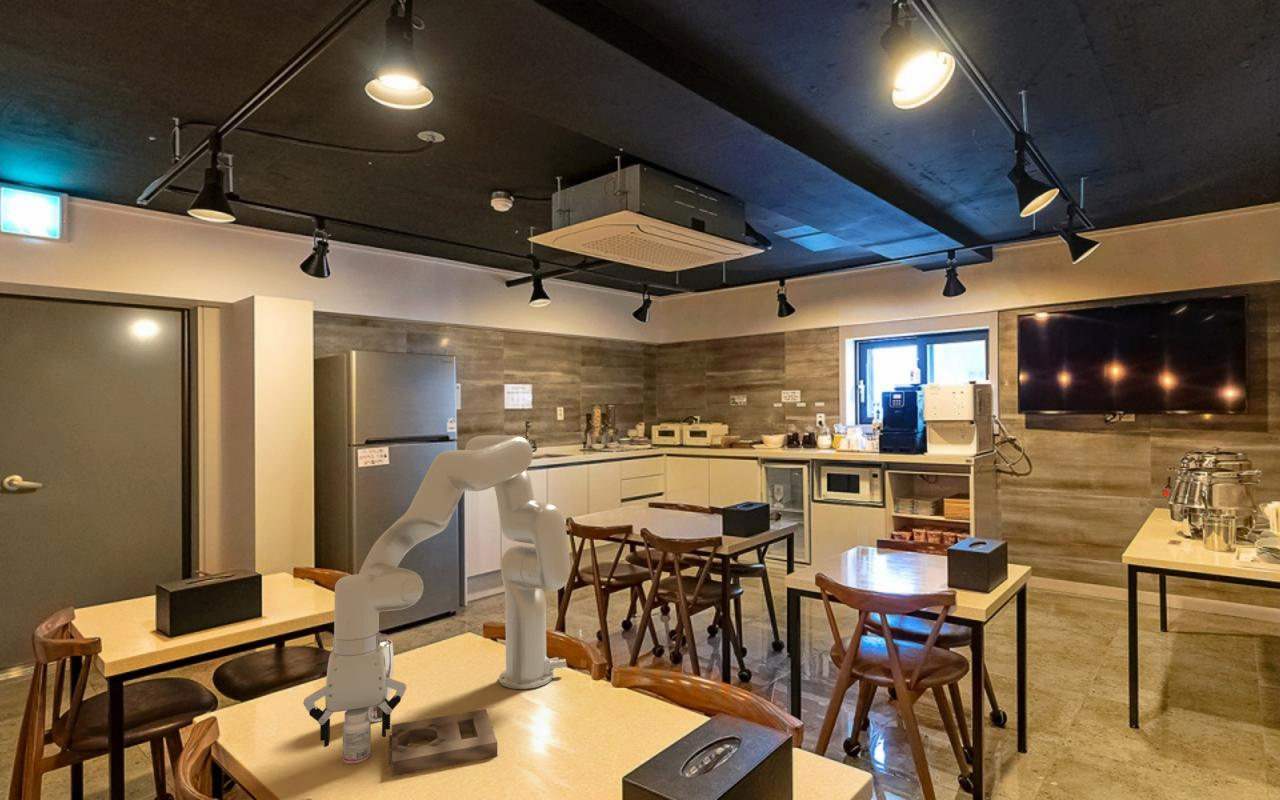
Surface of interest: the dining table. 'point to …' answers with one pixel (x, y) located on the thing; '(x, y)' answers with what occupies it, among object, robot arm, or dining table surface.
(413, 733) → the socket plate
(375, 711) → the beer glass
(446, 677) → the dining table surface
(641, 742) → the dining table surface
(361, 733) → the pill bottle
